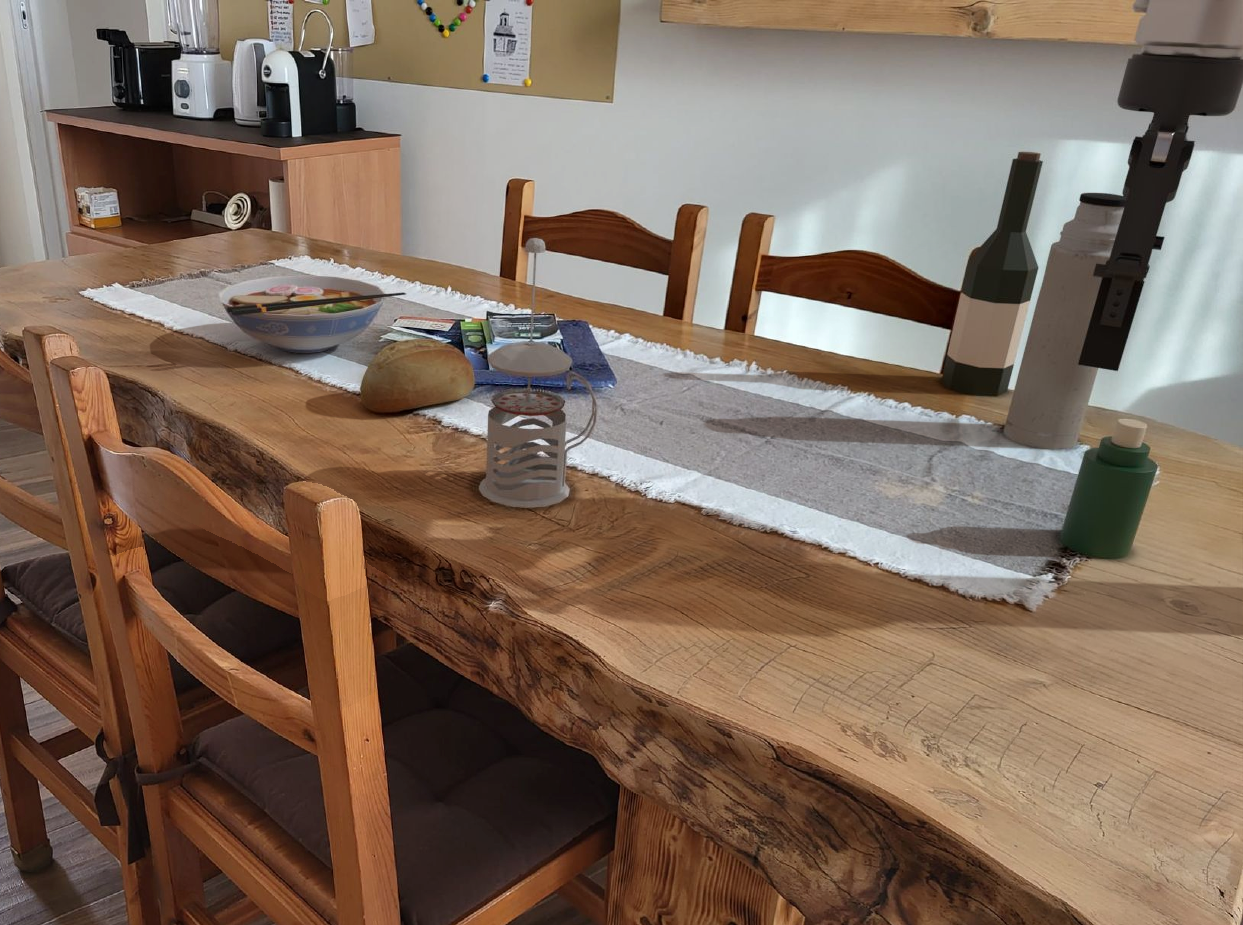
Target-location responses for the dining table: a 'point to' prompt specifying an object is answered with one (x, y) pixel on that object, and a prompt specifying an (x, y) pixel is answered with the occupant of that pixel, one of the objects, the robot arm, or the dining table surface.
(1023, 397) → the thermos bottle
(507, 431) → the french press
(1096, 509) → the green bottle
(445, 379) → the bread roll
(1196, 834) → the dining table surface
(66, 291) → the dining table surface
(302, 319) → the ramen bowl
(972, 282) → the wine bottle
